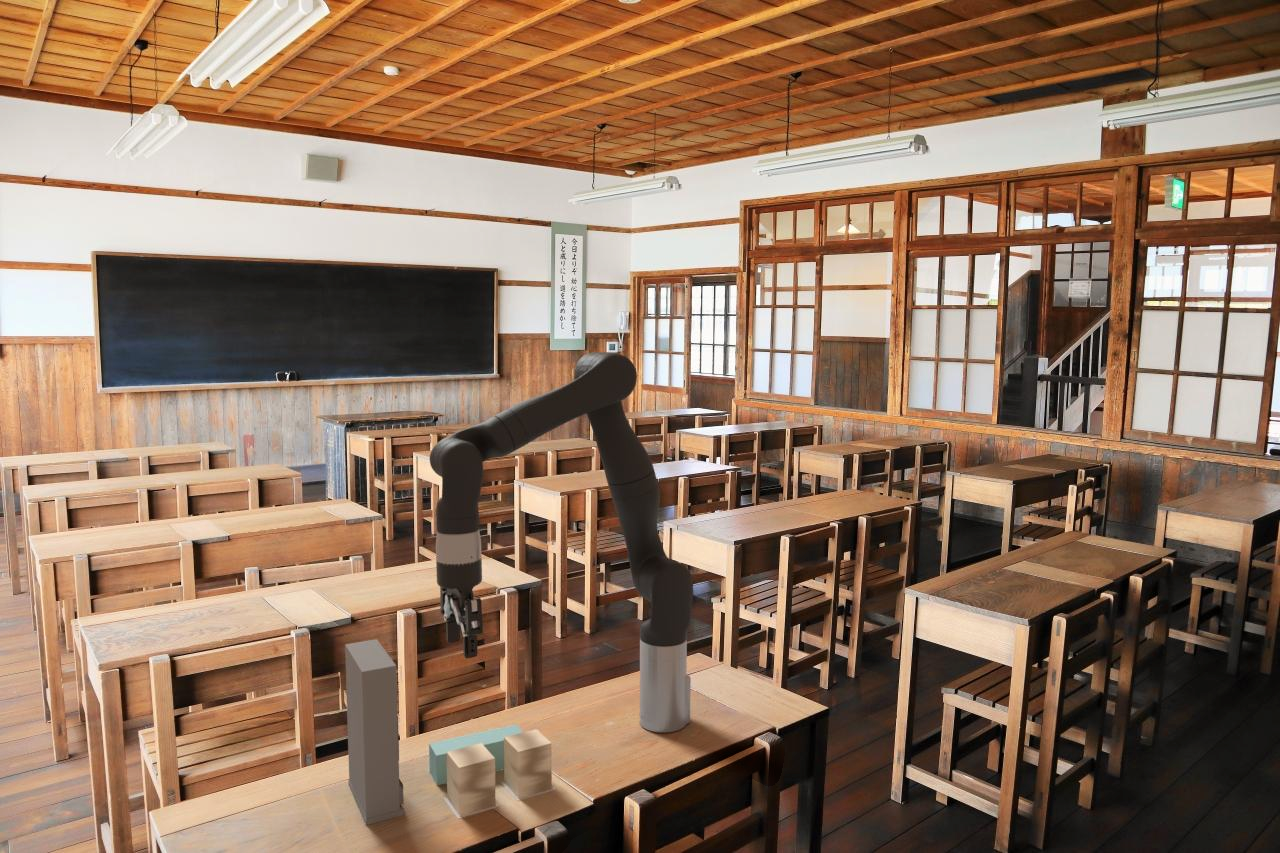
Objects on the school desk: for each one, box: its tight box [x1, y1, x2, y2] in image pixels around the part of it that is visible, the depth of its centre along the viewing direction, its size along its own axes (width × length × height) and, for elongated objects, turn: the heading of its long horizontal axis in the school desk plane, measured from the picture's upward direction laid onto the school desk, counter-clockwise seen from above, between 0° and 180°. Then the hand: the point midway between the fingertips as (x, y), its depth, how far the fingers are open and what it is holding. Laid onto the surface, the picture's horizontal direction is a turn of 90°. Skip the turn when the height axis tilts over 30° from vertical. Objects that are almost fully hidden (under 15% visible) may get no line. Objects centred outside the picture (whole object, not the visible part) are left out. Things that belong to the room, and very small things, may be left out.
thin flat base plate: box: [443, 780, 557, 820], centre depth 139 cm, size 20×10×1 cm, turn 121°
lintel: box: [428, 723, 524, 786], centre depth 147 cm, size 16×5×6 cm, turn 118°
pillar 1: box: [446, 743, 497, 816], centre depth 136 cm, size 6×6×8 cm
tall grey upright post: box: [344, 638, 405, 826], centre depth 136 cm, size 14×6×25 cm, turn 30°
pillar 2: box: [503, 728, 553, 799], centre depth 141 cm, size 6×6×8 cm
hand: (461, 649), depth 143 cm, fingers open, 8 cm apart
